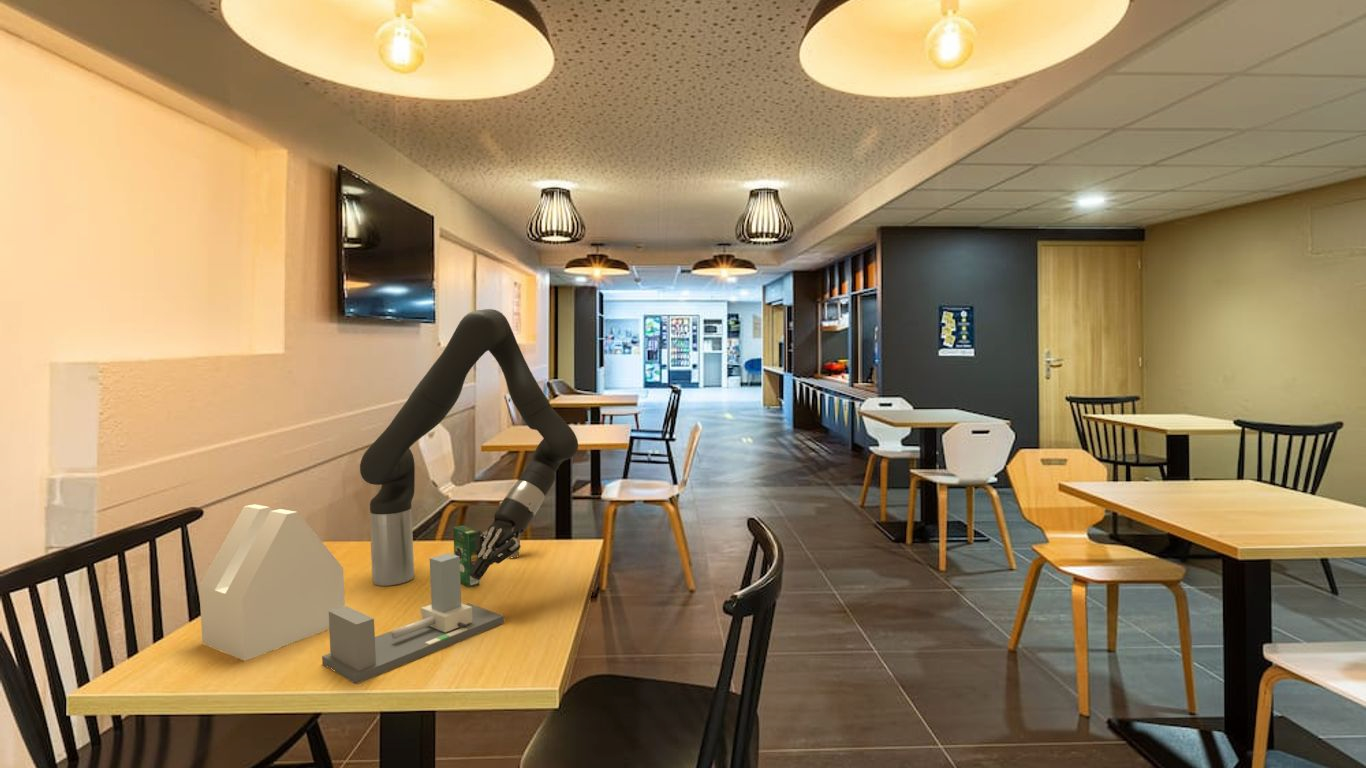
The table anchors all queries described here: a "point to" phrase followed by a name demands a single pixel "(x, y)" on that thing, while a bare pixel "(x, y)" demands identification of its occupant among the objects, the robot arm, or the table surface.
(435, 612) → the gauge slider
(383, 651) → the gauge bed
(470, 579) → the coffee box
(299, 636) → the white house-shaped block
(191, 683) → the table surface
